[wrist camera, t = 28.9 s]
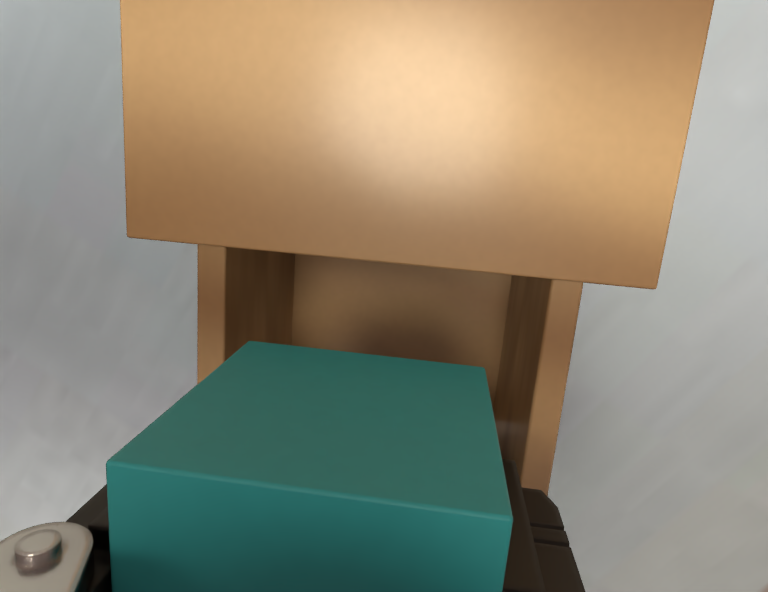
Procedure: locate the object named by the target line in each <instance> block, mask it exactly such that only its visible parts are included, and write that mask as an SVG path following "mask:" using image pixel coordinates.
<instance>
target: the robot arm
mask: <svg viewBox="0 0 768 592" xmlns="http://www.w3.org/2000/svg"><path fill="white" fill-rule="evenodd" d="M502 462H503V467H504V473H505V478H506V484H507V489H508V494H509V500H510V505H511V511H512V516H513V524H512V531H511V537H510V544H509V551H508V557H507V564H506V570H505V577H504V584H503V590H502V592H585V589H584V586H583V583H582V580H581V577H580V574H579V571H578V568H577V565H576V562H575V559H574V556H573V553H572V550H571V548H570V547H569V541H568V538H567V535H566V532H565V531H564V525H563V522H562V519H561V516H560V513H559V510H558V508H557V506H556V505H555V504H554V503H553V502H552V501H551V500H550V499H549V498H548V497H547V496H546V495H545V493H544V492H543V491H542V490H538V489H530V488H523V487H521V483H520V479H519V474H518V470H517V466H516V462H515V461H514V460H507V459H502ZM0 592H112V584H111V563H110V541H109V520H108V498H107V484H106V485H105V486H104V487H103V488H102V489H101V490H100V491H99V492H98V493H96V494H95V495H94V496H93V497H92V498H91V499H90V500H89V501H88V502H87V503H86V504H84V505H83V506H82V507H81V508H80V509H79V510H78V511H77V512H76V513H75V514H74V515H73V516H71V517H70V518H69V519H68V520H67V521H66V522H52V523H45V524H40V525H36V526H33V527H29V528H26V529H24V530H21V531H19V532H17V533H14V534H12V535H10V536H9V537H7V538H5V539H4V540H2V541H1V542H0Z"/></svg>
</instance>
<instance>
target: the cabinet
mask: <svg viewBox="0 0 768 592" xmlns="http://www.w3.org/2000/svg"><path fill="white" fill-rule="evenodd" d="M713 5H714V0H120V13H121V47H122V82H123V117H124V152H125V187H126V222H127V237H129V238H139V239H149V240H160V241H170V242H180V243H190V244H200V245H210V246H220V247H230V248H241V249H251V250H261V251H271V252H281V253H291V254H301V255H311V256H321V257H332V258H342V259H352V260H362V261H372V262H382V263H392V264H402V265H413V266H423V267H433V268H443V269H453V270H463V271H473V272H483V273H494V274H504V275H514V276H524V277H534V278H544V279H554V280H564V281H575V282H585V283H595V284H605V285H615V286H625V287H635V288H645V289H656V287H657V283H658V278H659V273H660V268H661V263H662V258H663V253H664V248H665V243H666V238H667V233H668V228H669V223H670V218H671V213H672V208H673V203H674V198H675V193H676V188H677V183H678V178H679V173H680V168H681V163H682V159H683V154H684V149H685V144H686V139H687V134H688V129H689V124H690V119H691V114H692V109H693V104H694V99H695V94H696V89H697V84H698V79H699V74H700V69H701V64H702V59H703V54H704V49H705V44H706V39H707V34H708V29H709V24H710V19H711V15H712V10H713Z"/></svg>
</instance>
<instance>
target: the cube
mask: <svg viewBox="0 0 768 592" xmlns="http://www.w3.org/2000/svg"><path fill="white" fill-rule="evenodd" d="M106 477H107V498H108V520H109V541H110V563H111V584H112V592H502V590H503V584H504V577H505V570H506V564H507V557H508V551H509V544H510V537H511V531H512V524H513V516H512V511H511V505H510V500H509V494H508V489H507V484H506V478H505V473H504V467H503V462H502V457H501V451H500V446H499V441H498V435H497V430H496V424H495V419H494V414H493V408H492V403H491V398H490V392H489V387H488V381H487V376H486V371H485V368H484V367H477V366H469V365H460V364H451V363H442V362H433V361H424V360H416V359H407V358H398V357H389V356H380V355H371V354H363V353H354V352H345V351H336V350H327V349H318V348H310V347H301V346H292V345H283V344H274V343H265V342H257V341H248V342H247V343H246V344H245V345H244V346H242V347H241V348H240V349H239V350H238V351H236V352H235V353H234V354H233V355H232V356H231V357H229V358H228V359H227V360H226V361H225V362H223V363H222V364H221V365H220V366H219V367H218V368H216V369H215V370H214V371H213V372H212V373H210V374H209V375H208V376H207V377H206V378H205V379H203V380H202V381H201V382H200V383H199V384H197V385H196V386H195V387H194V388H193V389H192V390H190V391H189V392H188V393H187V394H186V395H184V396H183V397H182V398H181V399H180V400H179V401H177V402H176V403H175V404H174V405H173V406H171V407H170V408H169V409H168V410H167V411H166V412H164V413H163V414H162V415H161V416H160V417H158V418H157V419H156V420H155V421H154V422H153V423H151V424H150V425H149V426H148V427H147V428H145V429H144V430H143V431H142V432H141V433H140V434H138V435H137V436H136V437H135V438H134V439H132V440H131V441H130V442H129V443H128V444H127V445H125V446H124V447H123V448H122V449H121V450H120V451H118V452H117V453H116V454H115V455H114V456H112V457H111V458H110V459H109V460H108V461H107V463H106Z"/></svg>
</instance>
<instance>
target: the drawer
mask: <svg viewBox="0 0 768 592" xmlns="http://www.w3.org/2000/svg"><path fill="white" fill-rule="evenodd" d="M582 288H583V282H575V281H564V280H554V279H544V278H534V277H524V276H514V275H504V274H494V273H483V272H473V271H463V270H453V269H443V268H433V267H423V266H413V265H402V264H392V263H382V262H372V261H362V260H352V259H342V258H332V257H321V256H311V255H301V254H291V253H281V252H271V251H261V250H251V249H241V248H230V247H220V246H210V245H200V244H198V378H197V384H199V383H200V382H201V381H202V380H203V379H205V378H206V377H207V376H208V375H209V374H210V373H212V372H213V371H214V370H215V369H216V368H218V367H219V366H220V365H221V364H222V363H223V362H225V361H226V360H227V359H228V358H229V357H231V356H232V355H233V354H234V353H235V352H236V351H238V350H239V349H240V348H241V347H242V346H244V345H245V344H246V343H247V342H248V341H257V342H265V343H274V344H283V345H292V346H301V347H310V348H318V349H327V350H336V351H345V352H354V353H363V354H371V355H380V356H389V357H398V358H407V359H416V360H424V361H433V362H442V363H451V364H460V365H469V366H477V367H484V368H485V371H486V376H487V381H488V387H489V392H490V398H491V403H492V408H493V414H494V419H495V424H496V430H497V435H498V441H499V446H500V451H501V457H502V459H507V460H514V461H515V462H516V466H517V470H518V474H519V479H520V483H521V487H523V488H530V489H538V490H542V491H543V492H544V493H545V495H546V496H547V495H548V489H549V483H550V477H551V471H552V465H553V459H554V453H555V447H556V441H557V436H558V430H559V424H560V418H561V412H562V406H563V400H564V394H565V388H566V382H567V376H568V371H569V365H570V359H571V353H572V347H573V341H574V335H575V329H576V323H577V317H578V311H579V305H580V300H581V294H582Z"/></svg>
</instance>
